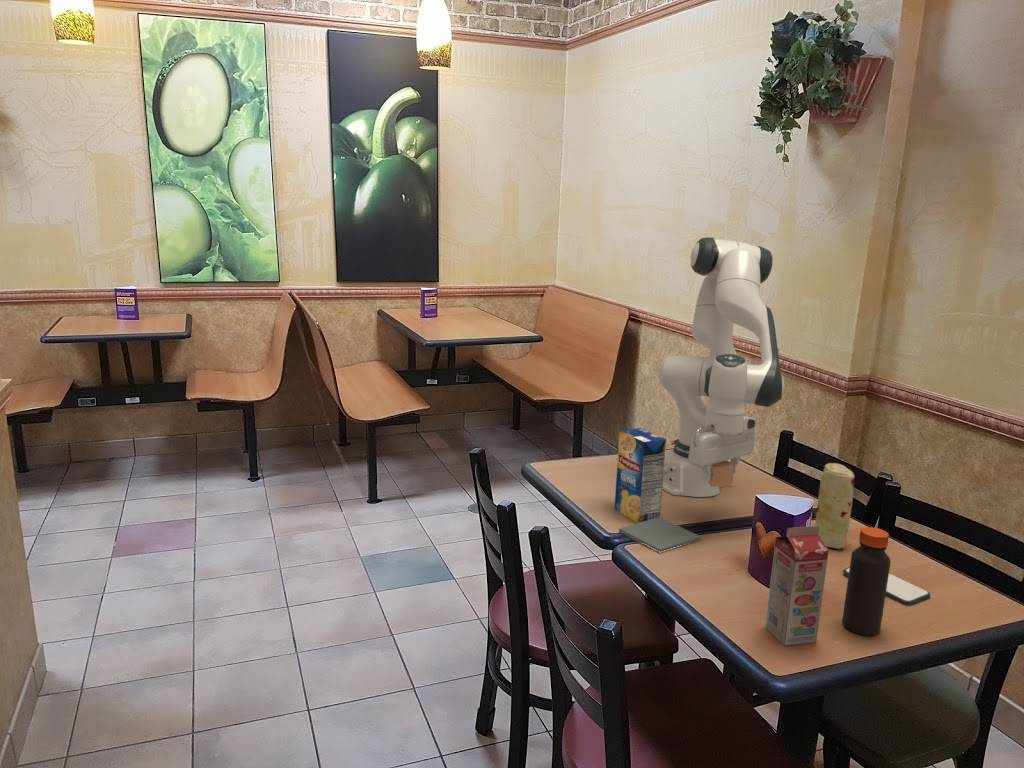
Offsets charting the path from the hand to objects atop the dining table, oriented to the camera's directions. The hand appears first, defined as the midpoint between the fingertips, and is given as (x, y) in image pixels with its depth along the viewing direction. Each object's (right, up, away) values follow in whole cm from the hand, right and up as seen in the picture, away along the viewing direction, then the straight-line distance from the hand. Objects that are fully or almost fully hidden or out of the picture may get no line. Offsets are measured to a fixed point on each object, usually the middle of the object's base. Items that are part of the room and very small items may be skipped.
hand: (719, 476), depth 183 cm
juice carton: (+3, -25, -40) cm, 47 cm away
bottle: (+17, -25, -37) cm, 48 cm away
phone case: (+31, -22, -20) cm, 43 cm away
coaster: (-14, -15, +2) cm, 21 cm away
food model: (+27, -17, +1) cm, 32 cm away
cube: (0, -2, 0) cm, 2 cm away
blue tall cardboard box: (-18, -12, +15) cm, 26 cm away
